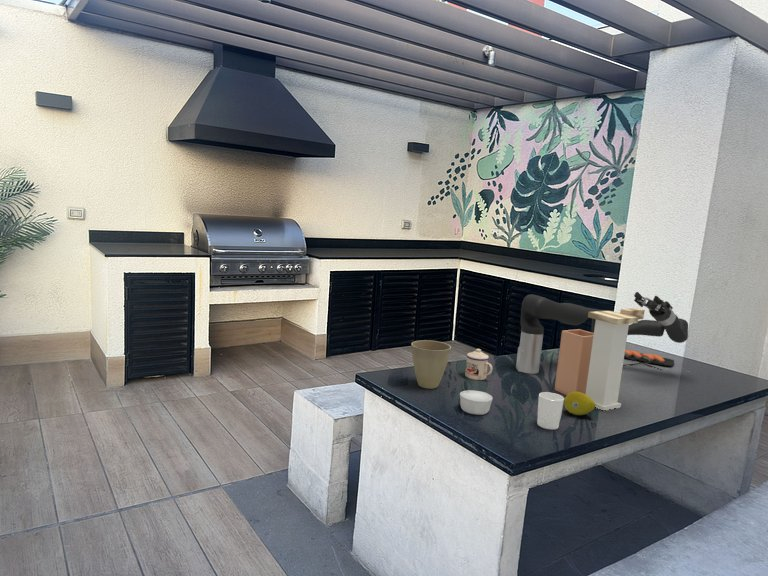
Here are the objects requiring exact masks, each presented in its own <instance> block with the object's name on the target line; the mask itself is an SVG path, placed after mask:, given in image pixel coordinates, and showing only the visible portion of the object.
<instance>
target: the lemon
mask: <svg viewBox="0 0 768 576" xmlns="http://www.w3.org/2000/svg"><path fill="white" fill-rule="evenodd" d="M563 405H564V408H565V410H566V411H567V412H568V413H570V414H571V415H574V416H584V415H587V414H589V413H590V412H592V411H594V410H595V409H596V408H595V406H596V404H595V402H593V400H592V399H591V398H590V397H589V396H587V395H586V394H584V393H581V392H575V391H574V392H570V393H569V394H568V395H565V397H564V403H563Z"/></svg>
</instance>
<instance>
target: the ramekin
mask: <svg viewBox="0 0 768 576" xmlns="http://www.w3.org/2000/svg"><path fill="white" fill-rule="evenodd" d="M459 398H460V399H459V400H460V401H459V403H460V407H461V409H462V410H463V411H464V412H465V413H467V414H472V415H486V414H487V413H488V412H490V408H491V405H492V402H493V396H492V395H491V394H489V393H488V392H485V391H480V390H472V389H471V390H470V389H469V390H463V391H461V392H459Z"/></svg>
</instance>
